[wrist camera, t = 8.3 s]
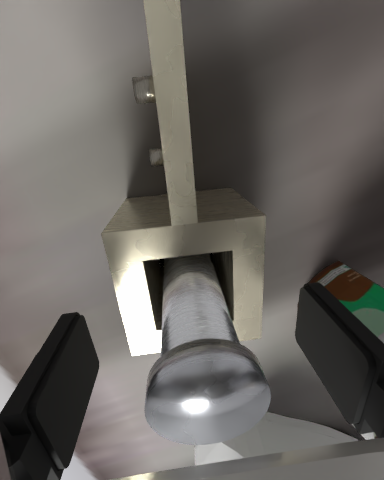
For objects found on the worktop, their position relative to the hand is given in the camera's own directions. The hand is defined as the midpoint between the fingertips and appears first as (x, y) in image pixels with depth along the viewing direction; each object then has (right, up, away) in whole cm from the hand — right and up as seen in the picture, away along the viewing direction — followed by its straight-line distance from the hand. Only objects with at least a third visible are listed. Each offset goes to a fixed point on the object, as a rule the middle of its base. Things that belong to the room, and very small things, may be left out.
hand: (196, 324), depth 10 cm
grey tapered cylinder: (-1, +4, +9) cm, 9 cm away
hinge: (-1, +4, +9) cm, 9 cm away
